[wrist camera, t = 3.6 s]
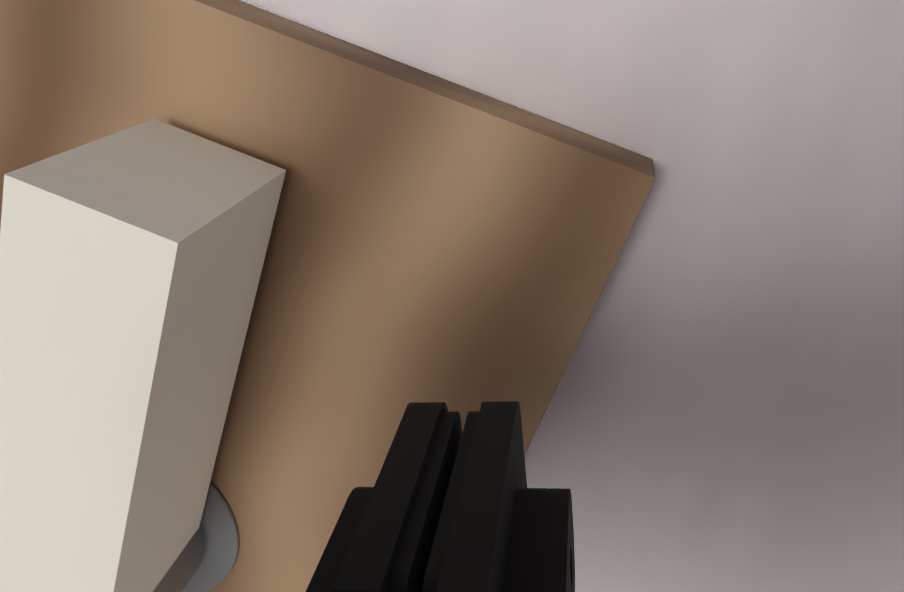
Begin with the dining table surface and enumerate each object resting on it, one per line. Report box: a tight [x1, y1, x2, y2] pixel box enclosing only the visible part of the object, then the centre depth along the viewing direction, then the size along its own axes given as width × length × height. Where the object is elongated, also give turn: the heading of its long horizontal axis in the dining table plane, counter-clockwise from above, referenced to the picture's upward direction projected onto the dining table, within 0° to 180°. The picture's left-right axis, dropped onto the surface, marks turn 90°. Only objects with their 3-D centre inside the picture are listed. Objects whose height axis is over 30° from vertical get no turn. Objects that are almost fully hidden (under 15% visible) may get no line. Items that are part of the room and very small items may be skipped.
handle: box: [0, 119, 286, 592], centre depth 17 cm, size 13×4×5 cm, turn 161°
